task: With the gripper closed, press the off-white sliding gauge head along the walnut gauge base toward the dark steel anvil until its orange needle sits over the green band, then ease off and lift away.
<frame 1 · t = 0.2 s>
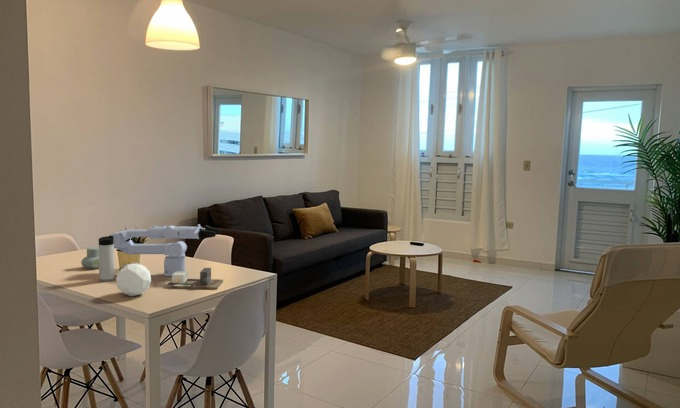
hand: (217, 232, 242), 21 cm above the table, tool horizontal, fingers open, 7 cm apart
gauge head: (178, 278, 226), point 3 cm above the table, slide at 0.0 cm
travel mug: (107, 280, 231), on the table
air freshener: (93, 268, 252), on the table
geodesic sphere: (134, 295, 211), on the table
gauge base: (195, 284, 228), on the table
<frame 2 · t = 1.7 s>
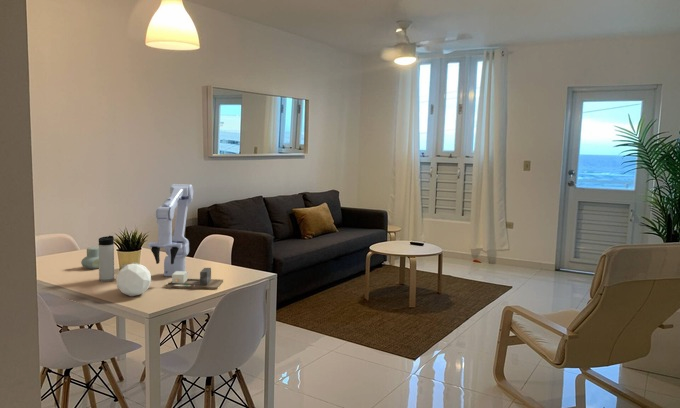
hand: (165, 263, 227), 9 cm above the table, tool pointing down, fingers open, 6 cm apart
nothing on the table moved.
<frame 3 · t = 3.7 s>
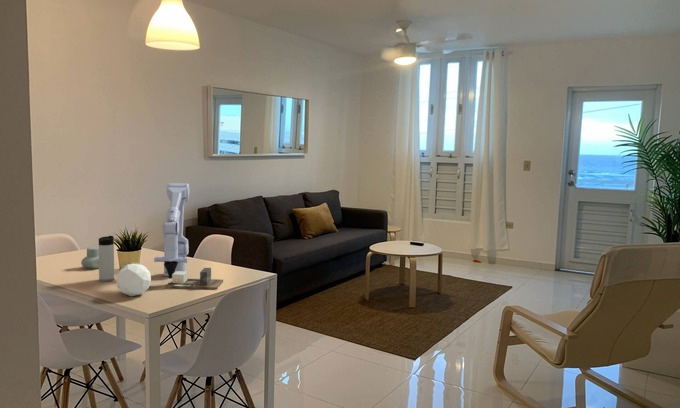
hand: (171, 277, 228), 3 cm above the table, tool pointing down, fingers closed
gauge head: (178, 278, 226), point 3 cm above the table, slide at 0.0 cm, touching gripper
everything else where it was.
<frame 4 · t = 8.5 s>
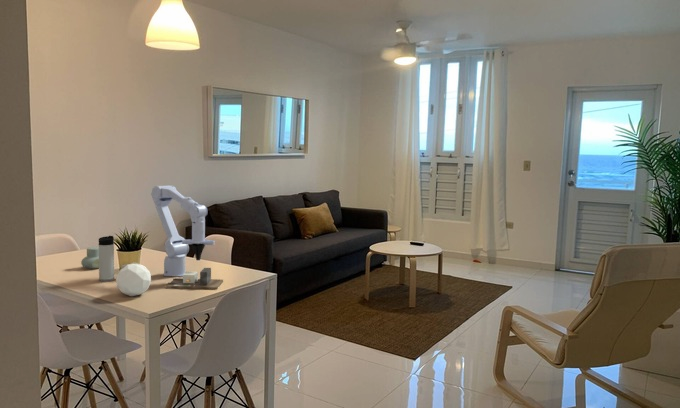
hand: (198, 259, 236), 9 cm above the table, tool pointing down, fingers closed
gauge head: (189, 278, 226), point 3 cm above the table, slide at 4.8 cm
everything else where it was.
at the end: gauge head slide at 4.8 cm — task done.
